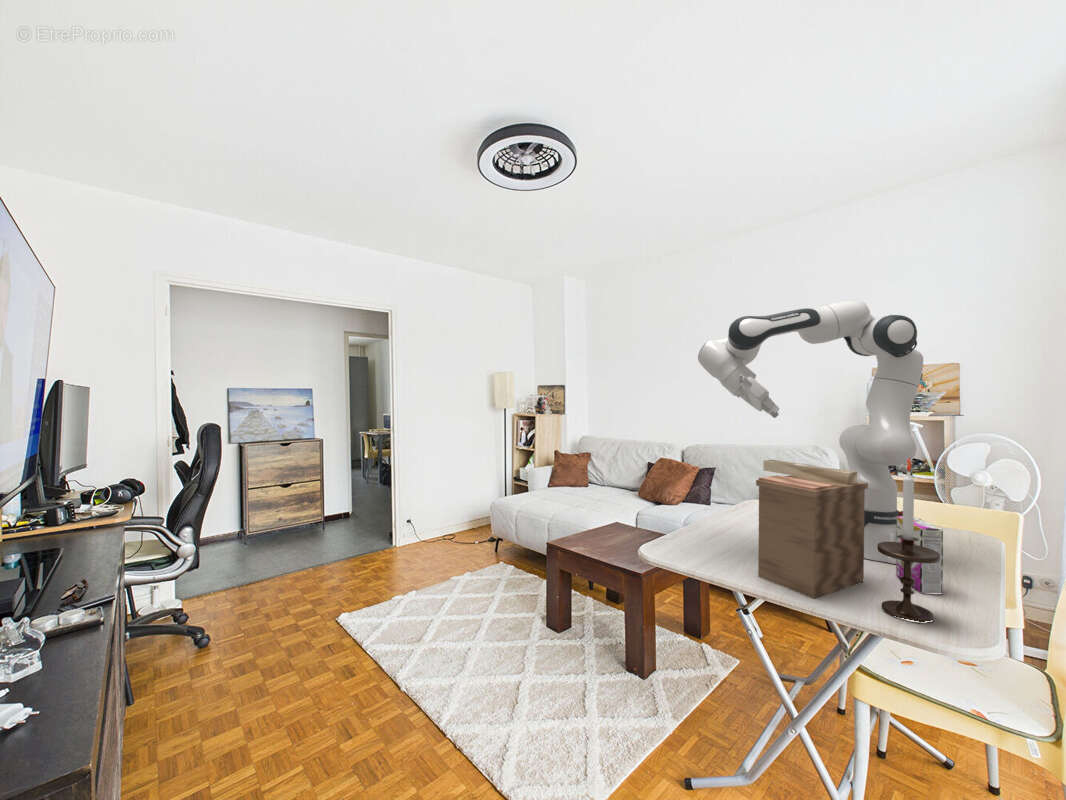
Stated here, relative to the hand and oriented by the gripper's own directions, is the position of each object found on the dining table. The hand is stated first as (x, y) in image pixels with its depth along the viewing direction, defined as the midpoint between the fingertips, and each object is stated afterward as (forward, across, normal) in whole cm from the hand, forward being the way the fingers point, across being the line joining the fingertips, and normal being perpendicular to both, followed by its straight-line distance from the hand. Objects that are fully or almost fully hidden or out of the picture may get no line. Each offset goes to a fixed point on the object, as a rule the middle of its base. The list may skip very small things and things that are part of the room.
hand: (777, 413), depth 136 cm
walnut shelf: (+37, -3, +26) cm, 45 cm away
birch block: (+18, -1, +8) cm, 19 cm away
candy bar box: (+53, +5, +8) cm, 54 cm away
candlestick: (+52, -15, +16) cm, 56 cm away
